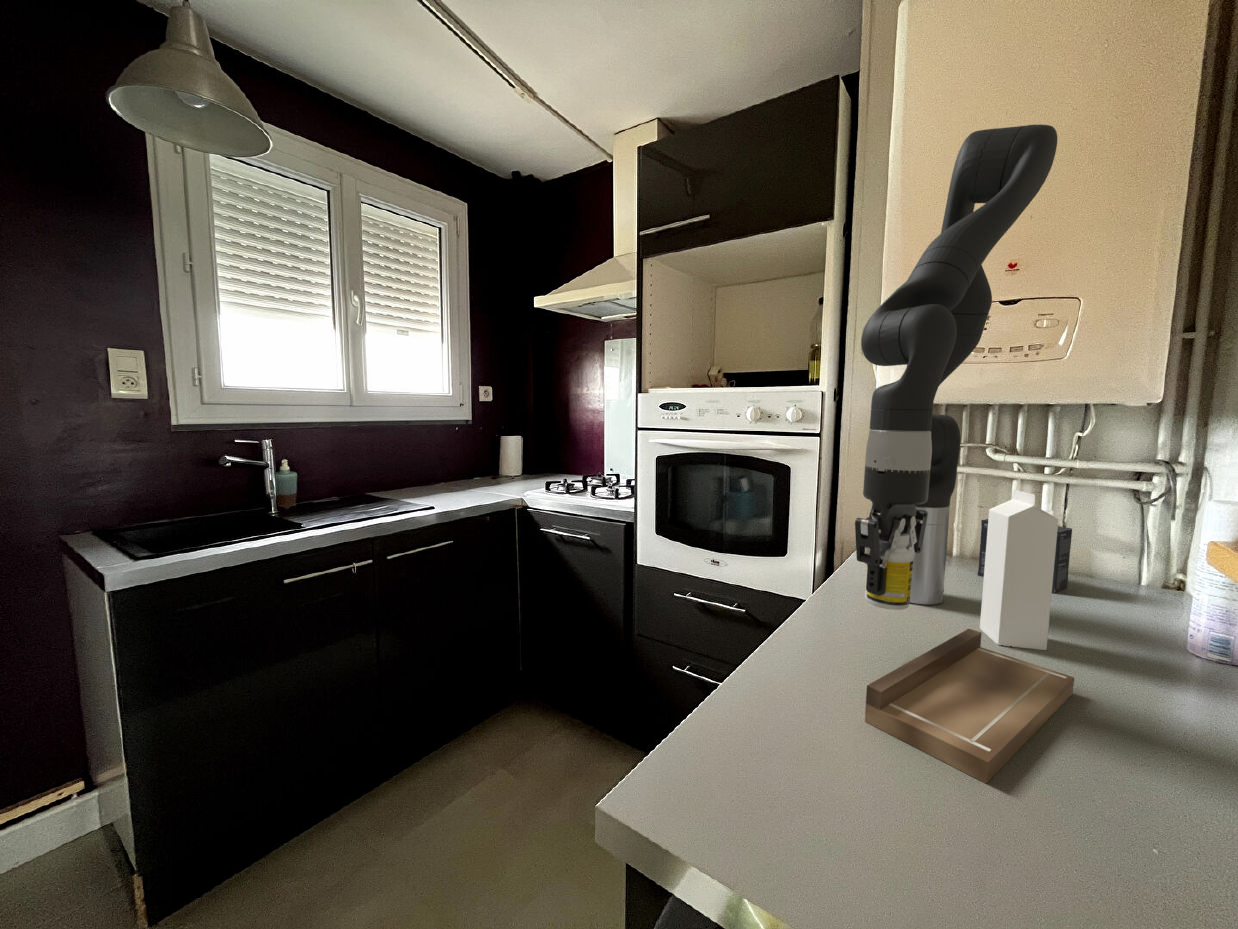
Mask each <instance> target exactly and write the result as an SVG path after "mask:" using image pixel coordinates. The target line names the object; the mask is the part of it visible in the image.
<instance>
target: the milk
mask: <svg viewBox="0 0 1238 929" xmlns="http://www.w3.org/2000/svg"><path fill="white" fill-rule="evenodd" d="M1012 490H1013V491H1012V496H1011V497H1012V498H1011V499H1009V500H1007V501H1005V502H1003V503H1001V504H997V505H996V506H994V507H992V508H989V510H988V518H987V519H988V530H987V543H986V556H985V568H984V577H983V582H982V595H981V606H980V608H981V609H980V618H979V619H980V621H979V630H980V631H981V632H983V634H985V635H986V636H988V637H989V639H991V640H992V641H993V642H994V643H995V644H996V645H997V644H998V645H997V646H1001V645H1003V646H1002V647H1010V646H1012V648H1018V649H1019V648H1020V649H1021V648H1022V649H1029V650H1030V649H1031V650H1039V651H1047V648H1048V636H1049V635H1048V634H1049V624H1050V616H1051V615H1050V614H1051V605H1052V595H1053V594H1052V593H1053V592H1052V584H1053V573H1054V562H1055V551H1056V541H1057V530H1058V526H1059V518H1057V517H1056V516H1054V515H1052V514H1051V513H1048V512H1047V511H1045V510H1043V509H1042V508H1040V507H1038V506H1036V495H1035V494H1033V493H1030V492H1026V491H1022V490H1017V489H1012Z"/></svg>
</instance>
